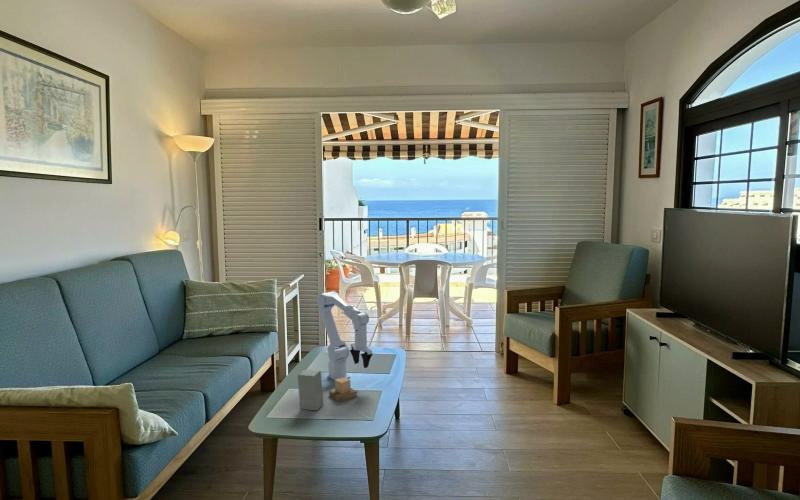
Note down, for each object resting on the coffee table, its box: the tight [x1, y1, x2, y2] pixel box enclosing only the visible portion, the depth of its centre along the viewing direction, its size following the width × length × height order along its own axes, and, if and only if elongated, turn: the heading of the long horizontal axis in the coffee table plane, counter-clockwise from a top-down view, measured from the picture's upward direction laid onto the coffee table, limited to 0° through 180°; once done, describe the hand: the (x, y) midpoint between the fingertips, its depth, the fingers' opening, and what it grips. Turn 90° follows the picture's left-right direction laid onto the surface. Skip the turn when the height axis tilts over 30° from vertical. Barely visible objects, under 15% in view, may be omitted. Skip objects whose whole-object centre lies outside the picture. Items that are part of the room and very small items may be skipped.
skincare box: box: [296, 368, 324, 411], centre depth 198 cm, size 8×7×16 cm
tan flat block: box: [328, 387, 358, 403], centre depth 210 cm, size 9×9×3 cm
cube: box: [334, 377, 352, 394], centre depth 210 cm, size 5×5×5 cm
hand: (361, 365), depth 222 cm, fingers open, 7 cm apart
